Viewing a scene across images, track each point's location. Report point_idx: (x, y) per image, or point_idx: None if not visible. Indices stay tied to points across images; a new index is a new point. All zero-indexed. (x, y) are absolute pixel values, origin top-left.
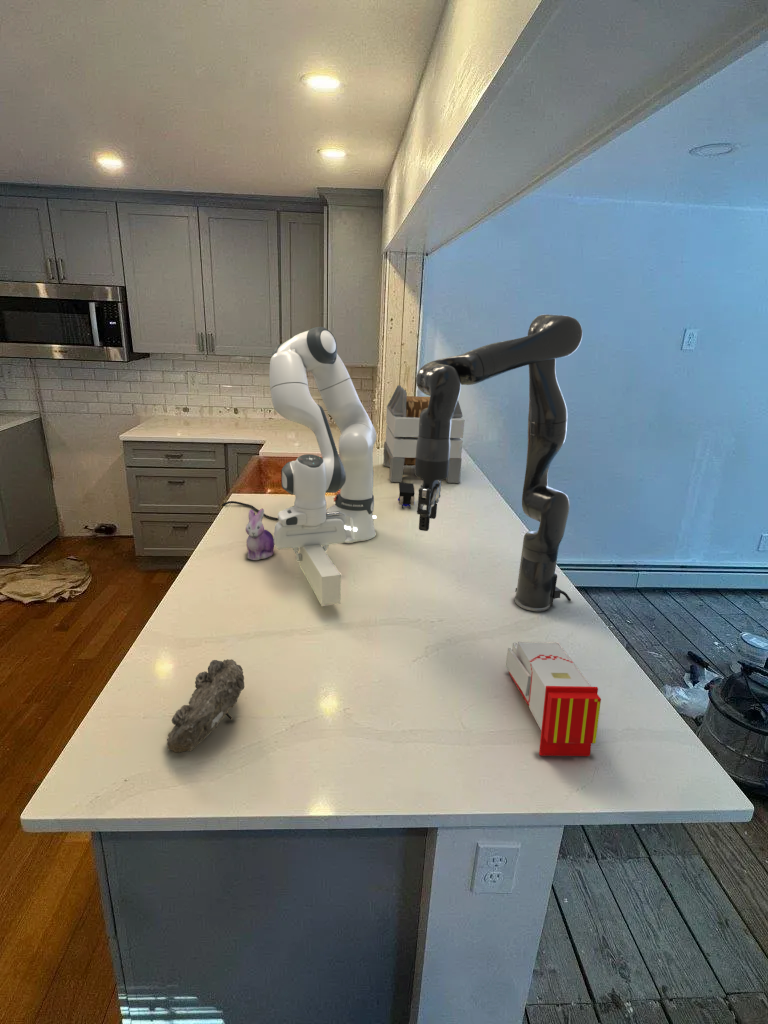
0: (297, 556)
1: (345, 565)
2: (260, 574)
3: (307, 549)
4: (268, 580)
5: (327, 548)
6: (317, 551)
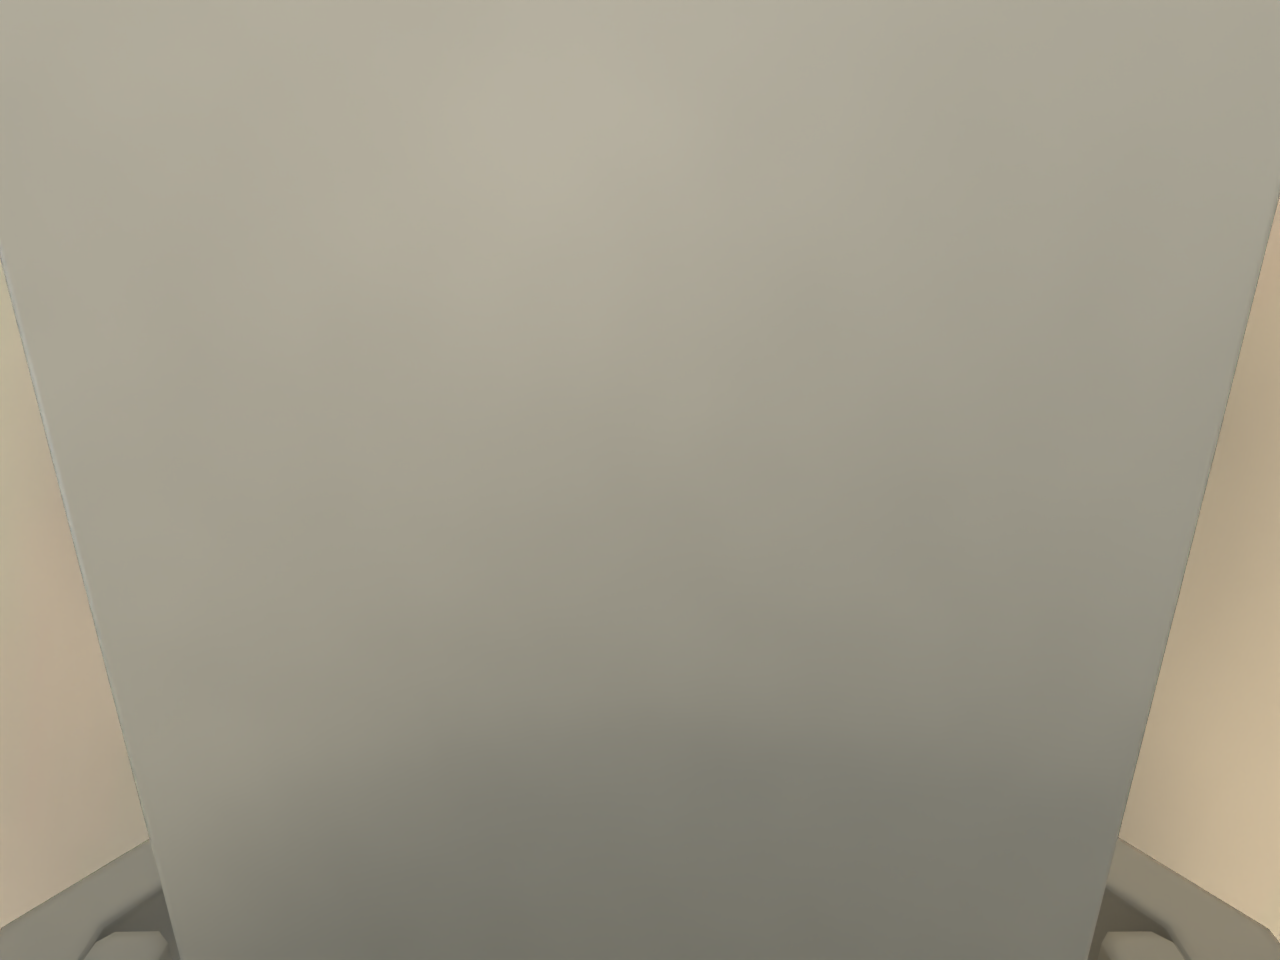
0: None
1: (30, 792)
2: (1253, 820)
3: (1043, 667)
4: (1232, 639)
5: (39, 908)
6: (526, 203)
